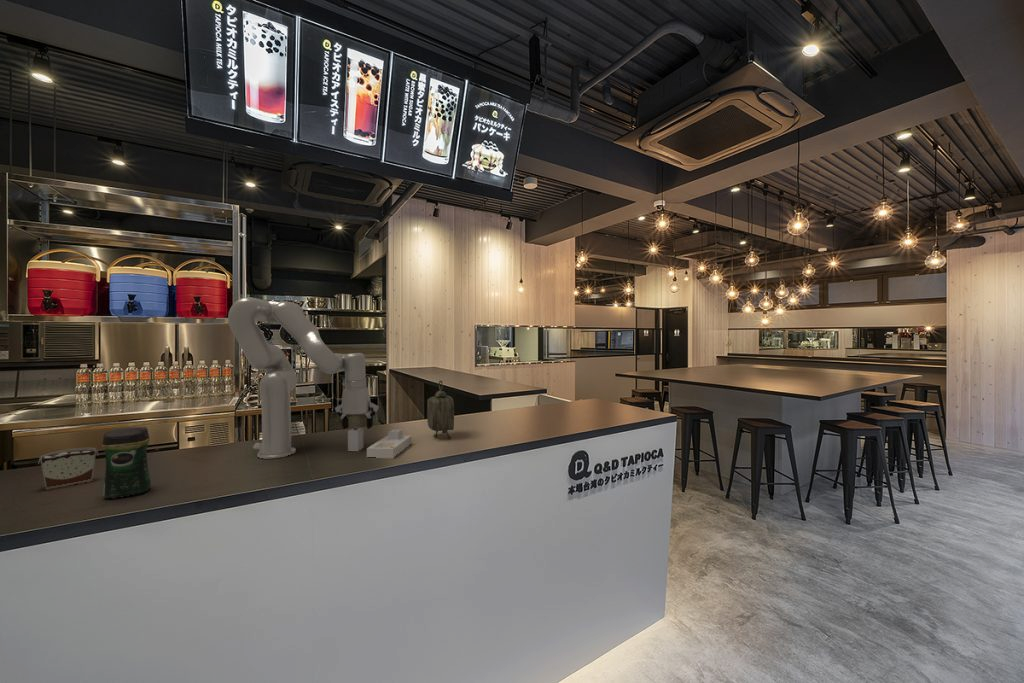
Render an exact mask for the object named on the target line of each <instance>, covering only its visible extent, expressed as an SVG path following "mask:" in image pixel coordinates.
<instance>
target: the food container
mask: <svg viewBox="0 0 1024 683" xmlns="http://www.w3.org/2000/svg"><path fill="white" fill-rule="evenodd" d="M96 455H97V456H99V451H98V450H97V448H96V447H79V448H78V447H77V448H70V449H69V448H68V449H62V450H58V451H57V450H56V451H52V452H49V453H45V454H43V455H41V456H40V457H39V459H38V462H37V465H39V464H40V465H41V472H42V476H43V480H44V487H50V486H56V485H62V484H67V483H73V482H78V481H83V480H88V479H92V480H93V476H94V471H95V470H94V469H95V462H96V457H97V456H96Z"/></svg>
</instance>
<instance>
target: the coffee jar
mask: <svg viewBox="0 0 1024 683" xmlns="http://www.w3.org/2000/svg"><path fill="white" fill-rule="evenodd" d="M148 430H149V429H148V428H147V427H146V426H142V427H141V426H140V427H139V426H137V427H125V428H117V429H111V430H108V431H106V432H105V433H104V435H103V438H102V439H103V440H102V445H101V448H102V450H103V451H104V454H105V469H104V470H105V472H104V481H103V482H104V483H103V490H102V491H103V498H105V499H108V498H112V499H114V498H113V497H121V496H127V497H129V496H128V495H133V496H136V495H135V494H137V495H140V493H141V494H142V492H143V493H145V491H146V492H147V491H148V489H150V488H151V486H152V485H151V476H150V475H151V474H150V471H149V463H148V457H147V456H148V454H147V451H148V450H147V448H148V445H149V442H150V435H149V431H148ZM121 498H122V497H121Z"/></svg>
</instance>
